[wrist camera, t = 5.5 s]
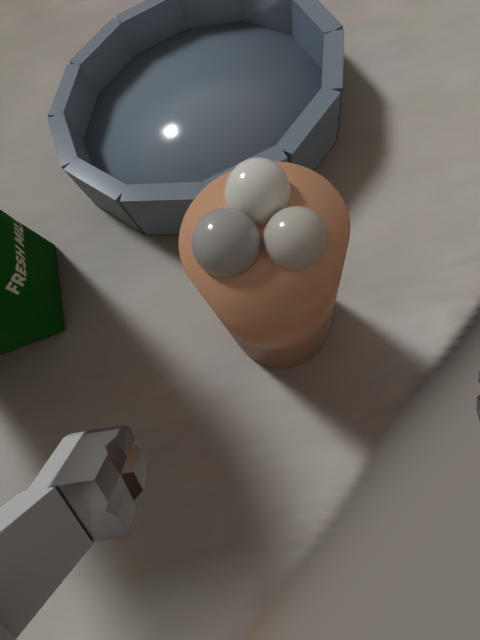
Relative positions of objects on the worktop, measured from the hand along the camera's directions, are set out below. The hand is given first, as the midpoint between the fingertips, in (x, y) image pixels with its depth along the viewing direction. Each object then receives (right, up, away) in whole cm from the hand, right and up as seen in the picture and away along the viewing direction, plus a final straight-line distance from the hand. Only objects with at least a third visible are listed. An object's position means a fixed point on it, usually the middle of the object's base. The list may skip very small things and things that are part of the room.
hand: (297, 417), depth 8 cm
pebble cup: (+1, +2, +11) cm, 12 cm away
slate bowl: (-4, +18, +18) cm, 25 cm away
